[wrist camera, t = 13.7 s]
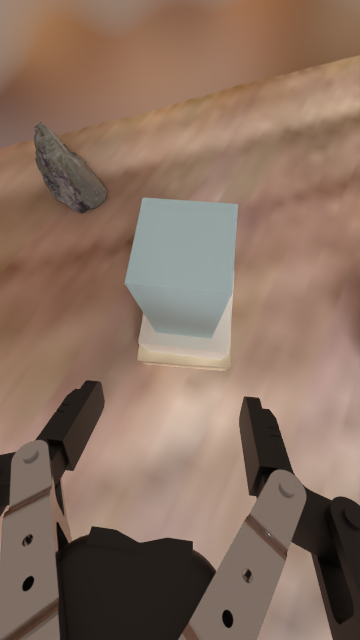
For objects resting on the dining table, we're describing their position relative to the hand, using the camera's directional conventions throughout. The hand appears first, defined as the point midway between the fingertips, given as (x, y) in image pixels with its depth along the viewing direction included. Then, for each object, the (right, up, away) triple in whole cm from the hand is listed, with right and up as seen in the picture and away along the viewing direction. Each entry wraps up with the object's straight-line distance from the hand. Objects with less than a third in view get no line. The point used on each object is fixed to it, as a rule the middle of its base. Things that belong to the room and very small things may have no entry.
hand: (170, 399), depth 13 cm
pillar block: (+1, +6, +8) cm, 10 cm away
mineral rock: (-17, +27, +26) cm, 41 cm away
